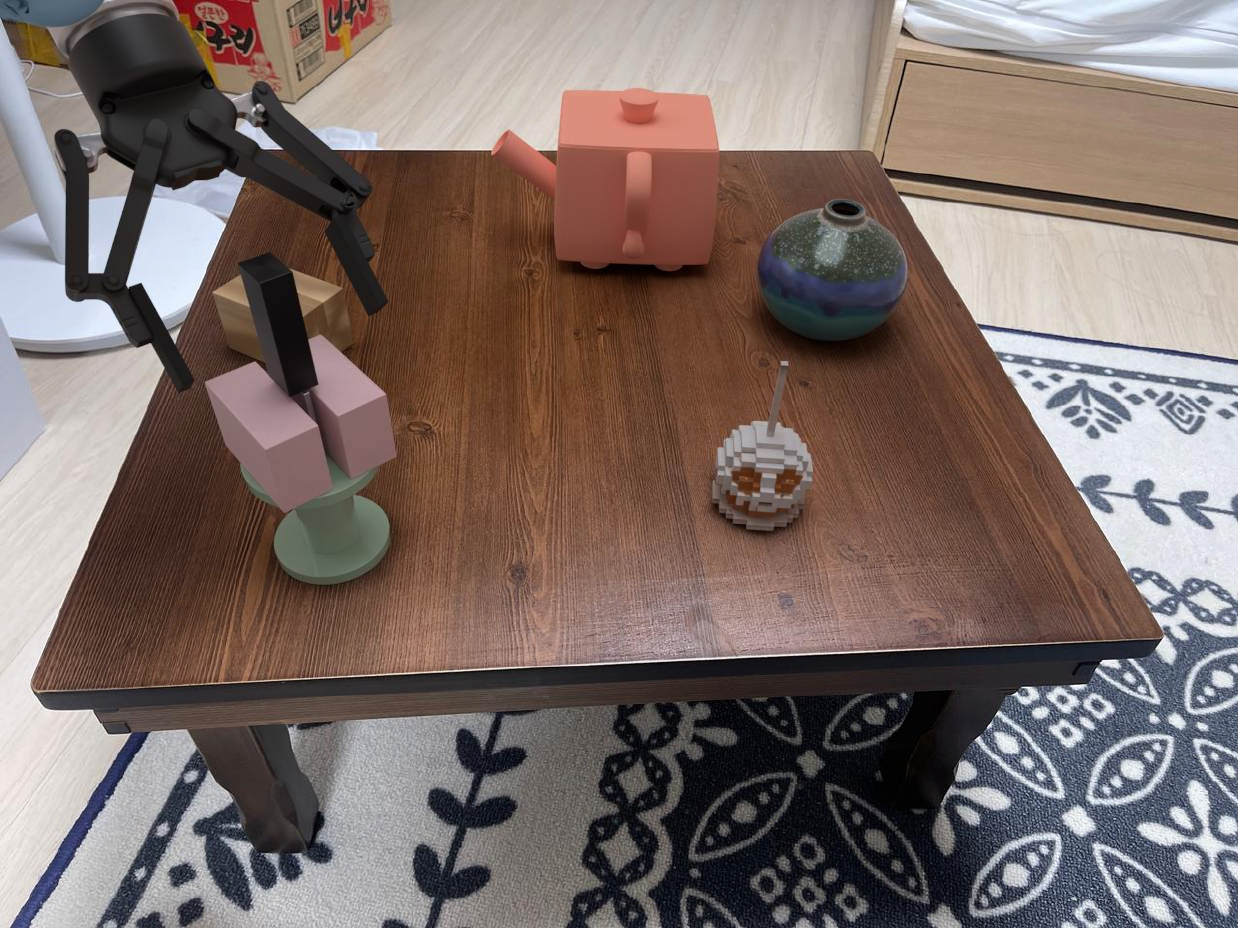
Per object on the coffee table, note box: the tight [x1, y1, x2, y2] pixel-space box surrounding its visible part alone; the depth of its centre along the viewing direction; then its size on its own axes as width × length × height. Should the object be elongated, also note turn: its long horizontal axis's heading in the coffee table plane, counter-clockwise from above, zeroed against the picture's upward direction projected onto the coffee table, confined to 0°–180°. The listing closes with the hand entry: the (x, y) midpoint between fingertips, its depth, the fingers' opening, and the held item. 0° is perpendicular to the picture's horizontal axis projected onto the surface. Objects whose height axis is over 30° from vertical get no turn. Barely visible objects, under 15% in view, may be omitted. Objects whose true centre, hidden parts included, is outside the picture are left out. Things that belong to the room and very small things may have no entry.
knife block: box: [212, 267, 354, 363], centre depth 92 cm, size 7×10×7 cm
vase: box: [756, 198, 909, 342], centre depth 97 cm, size 15×15×13 cm
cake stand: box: [239, 451, 392, 586], centre depth 72 cm, size 10×10×10 cm
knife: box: [237, 251, 319, 424], centre depth 63 cm, size 2×4×16 cm, turn 42°
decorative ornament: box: [711, 360, 814, 532], centre depth 76 cm, size 8×8×15 cm
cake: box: [204, 335, 397, 514], centre depth 67 cm, size 9×9×6 cm
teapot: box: [490, 87, 720, 272], centre depth 105 cm, size 25×23×18 cm
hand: (288, 346), depth 61 cm, fingers open, 13 cm apart
